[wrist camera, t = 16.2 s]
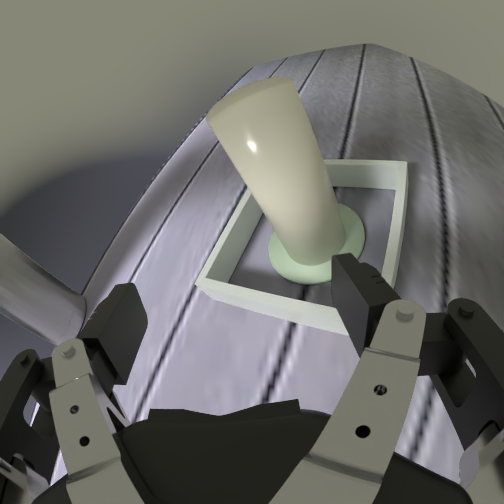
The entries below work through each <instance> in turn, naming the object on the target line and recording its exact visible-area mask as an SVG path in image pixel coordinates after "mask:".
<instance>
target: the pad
mask: <svg viewBox="0 0 504 504" xmlns="http://www.w3.org/2000/svg"><path fill="white" fill-rule="evenodd" d="M337 204H338V207H339V210H340V214H341V217H342V221H343V224H344V228H345V232H346V240H345V244H344V246H343V248H342V250H341V251H340V252H339V253H338V254H344V253H352V254H353V255H354V256H355V258H356V259H357V260H358V259H359V257H360V255H361V253H362V250H363V247H364V242H365V233H364V227H363V224H362V221H361V220H360V218H359V216H358V215H357V214H356V213H355V212H354V211H353V210H352V209H350V208H349V207H347V206H345V205H343V204H340V203H337ZM268 254H269V258H270V261H271V263H272V265H273V267H274V268H275V270H276V271H277V272H278V273H279V274H280V275H281V276H282V277H284V278H285V279H287V280H289V281H291V282H293V283H297V284H302V285H316V284H322V283H326V282H329V281H331V260H330V261H328V262H326V263H323V264H320V265H315V266H306V265H301V264H299V263H297V262H295V261H293V260H292V259H291V258H290V256H289V255H288V253H287V252H286V250H285V248H284V247H283V245H282V243H281V241H280V240H279V238H278V236H277V235H276V233H275V231H274V230H273V232H272V234H271V237H270V240H269V245H268Z"/></svg>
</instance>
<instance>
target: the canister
mask: <svg viewBox="0 0 504 504" xmlns="http://www.w3.org/2000/svg"><path fill="white" fill-rule="evenodd" d="M206 121H207V123H208V124H209V126H210V128H211V129H212V131H213V132H214V134H215V135H216V137H217V139H218V140H219V142H220V143H221V145H222V146H223V148H224V150H225V151H226V153H227V154H228V156H229V157H230V159H231V161H232V162H233V164H234V165H235V167H236V169H237V170H238V172H239V174H240V175H241V177H242V178H243V180H244V182H245V183H246V185H247V187H248V188H249V190H250V191H251V193H252V195H253V196H254V198H255V200H256V201H257V203H258V205H259V206H260V208H261V210H262V211H263V213H264V215H265V216H266V218H267V220H268V221H269V223H270V225H271V226H272V228H273V230H274V231H275V233H276V235H277V236H278V238H279V240H280V241H281V243H282V245H283V247H284V248H285V250H286V252H287V253H288V255H289V256H290V258H291V259H292V260H293V261H295V262H297V263H299V264H301V265H306V266H315V265H320V264H323V263H326V262H328V261H330V260H331V259H332V256H333V255H337V254H338V253H339V252H340V251H341V250H342V248H343V246H344V244H345V240H346V232H345V228H344V224H343V221H342V217H341V214H340V210H339V207H338V204H337V200H336V197H335V194H334V190H333V187H332V184H331V181H330V178H329V175H328V172H327V169H326V166H325V163H324V160H323V157H322V154H321V151H320V148H319V146H318V143H317V140H316V137H315V135H314V132H313V129H312V127H311V124H310V122H309V119H308V116H307V114H306V111H305V109H304V106H303V104H302V101H301V99H300V97H299V94H298V92H297V90H296V87H295V85H294V83H293V80H292V79H290V78H287V77H272V78H267V79H263V80H259V81H256V82H253V83H250V84H248V85H245V86H243V87H241V88H239V89H237V90H235V91H233V92H232V93H230V94H228V95H227V96H225V97H224V98H222V99H221V100H220V101H219V102H217V103H216V104H215V105H214V106H213V107H212V108H211V109H210V111H209V112H208V114H207V116H206Z"/></svg>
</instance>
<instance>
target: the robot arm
mask: <svg viewBox="0 0 504 504" xmlns="http://www.w3.org/2000/svg"><path fill="white" fill-rule="evenodd" d="M331 292H332V299H333V303H334V305H335V307H336V309H337V311H338V313H339V315H340V317H341V319H342V322H343V324H344V326H345V328H346V330H347V332H348V334H349V336H350V338H351V340H352V342H353V345H354V347H355V349H356V351H357V353H358V355H359V358H360V360H359V362H358V365H357V367H356V369H355V371H354V373H353V375H352V377H351V379H350V381H349V383H348V385H347V387H346V389H345V391H344V393H343V395H342V397H341V399H340V401H339V403H338V405H337V407H336V408H335V410H334V412H333V414H332V415H330V414H327V413H323V412H319V411H314V410H306V409H300V406H299V401H298V399H295V400H288V401H282V402H275V403H267V404H259V405H256V406H253V407H250V408H247V409H244V410H240V411H237V412H233V413H230V414H226V415H222V416H216V415H210V414H205V413H199V412H194V411H189V410H184V409H150V411H149V415H148V419H146V420H142V421H139V422H136V423H134V424H131V423H130V421H129V420H128V418H127V416H126V414H125V412H124V410H123V408H122V406H121V404H120V402H119V399H118V397H117V395H116V393H115V392H114V390H113V386H114V385H126V383H127V381H128V378H129V375H130V372H131V369H132V366H133V364H134V361H135V358H136V355H137V353H138V350H139V347H140V345H141V342H142V339H143V337H144V334H145V332H146V329H147V325H148V320H147V314H146V311H145V309H144V306H143V304H142V301H141V299H140V296H139V293H138V291H137V288H136V286H135V284H134V283H125V284H117V285H115V286H114V288H113V289H112V291H111V292H110V294H109V295H108V297H107V298H105V299H104V300H103V301H102V302H101V303H100V304H99V305H98V306H97V308H96V309H95V311H94V313H93V314H92V315H91V317H90V320H88V321H87V323H86V325H85V326H84V328H83V329H82V331H81V333H80V334H79V336H78V337H77V339H76V336H77V334H78V333H79V331H80V328H81V326H82V323H83V320H84V316H85V310H86V303H85V299H84V297H83V296H81V295H80V294H78V293H77V292H75V291H74V290H72V289H71V288H70V287H68V286H67V285H65V284H64V283H62V282H61V281H60V280H58V279H57V278H56V277H54V276H53V275H52V274H50V273H49V272H48V271H46V270H45V269H43V268H42V267H41V266H39V265H38V264H37V263H36V262H34V261H33V260H32V259H31V258H29V257H28V256H27V255H26V254H24V253H23V252H22V251H21V250H19V249H18V248H17V247H16V246H15V245H13V244H12V243H11V242H10V241H9V240H7V239H6V238H5V237H4V236H3V235H2V234H0V313H2V314H3V315H5V316H6V317H8V318H9V319H11V320H13V321H14V322H16V323H17V324H19V325H21V326H22V327H24V328H26V329H28V330H29V331H31V332H32V333H34V334H36V335H38V336H40V337H41V338H43V339H45V340H47V341H49V342H51V343H52V344H54V345H56V346H57V347H56V349H55V350H54V352H53V354H52V357H49V358H45V359H40V357H39V356H38V354H37V353H36V351H35V350H33V349H27V350H25V351H22V352H21V353H19V354H18V355H17V356H16V357H15V358H14V360H13V362H12V363H11V365H10V366H9V368H8V369H7V371H6V373H5V375H4V376H3V378H2V380H1V381H0V504H504V333H503V331H502V330H501V329H500V328H499V327H498V326H497V324H496V323H495V322H494V321H493V320H492V319H491V317H490V316H489V315H488V314H487V313H486V312H485V311H484V310H483V309H482V307H481V306H480V305H478V304H477V303H476V302H474V301H472V300H469V299H464V298H458V299H454V300H452V301H451V302H450V303H449V304H448V307H447V311H446V313H426V312H425V310H424V308H423V307H422V306H421V305H420V304H418V303H416V302H414V301H411V300H405V299H401V298H400V297H399V296H398V294H397V293H396V292H395V291H394V290H393V288H392V287H391V286H390V285H389V284H388V282H386V280H385V279H384V278H383V277H382V276H381V274H380V273H379V272H378V271H377V270H376V268H374V267H373V266H371V265H369V264H367V263H359V261H358V260H357V259H356V258H355V256H354V255H353V254H352V253H344V254H337V255H333V256H332V259H331ZM466 359H468V360H469V362H470V363H471V365H472V366H473V368H474V370H475V372H476V378H475V376H474V374H473V373H472V371H471V370H470V368H469V366H468V365H467V363H466V362H465V361H466ZM426 375H429V376H430V378H431V380H432V382H433V384H434V386H435V388H436V390H437V392H438V394H439V396H440V398H441V400H442V402H443V404H444V406H445V408H446V410H447V412H448V414H449V417H450V419H451V421H452V423H453V425H454V428H455V430H456V432H457V434H458V437H459V439H460V441H461V444H462V446H463V449H464V453H463V454H462V456H461V459H460V464H459V469H460V472H459V477H460V479H461V480H460V484H457V483H456V482H454V481H451V480H449V479H447V478H445V477H443V476H441V475H439V474H437V473H435V472H432V471H430V470H428V469H426V468H424V467H423V466H421V465H419V464H417V463H415V462H413V461H411V460H409V459H407V458H405V457H404V456H402V455H400V454H398V453H396V452H395V451H394V449H395V447H396V444H397V441H398V439H399V436H400V433H401V430H402V427H403V424H404V421H405V418H406V415H407V412H408V408H409V405H410V401H411V398H412V394H413V391H414V387H415V383H416V379H417V376H426ZM30 395H32V396H33V397H34V399H35V400H36V401H37V402H38V403H39V405H40V407H39V409H38V412H37V414H36V416H35V419H34V421H33V424H32V426H31V427H30V426H29V425H28V424H27V423H26V421H25V419H24V416H23V410H24V407H25V405H26V403H27V401H28V399H29V397H30ZM59 448H60V449H61V452H62V456H63V459H64V463H65V466H66V469H67V472H68V473H67V474H66V475H65V476H63V477H62V478H61V479H60V480H58V481H57V482H56V483H54V484H53V485H52V486H50V487H49V485H50V480H51V476H52V473H53V469H54V465H55V461H56V458H57V454H58V451H59Z"/></svg>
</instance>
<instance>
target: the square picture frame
mask: <svg viewBox="0 0 504 504" xmlns="http://www.w3.org/2000/svg"><path fill="white" fill-rule="evenodd" d="M323 160H324V163H325V166H326V169H327V172H328V175H329V178H330V181H331V184H332V186H337V187H360V188H377V189H391V190H396V194H395V202H394V209H393V216H392V222H391V228H390V234H389V240H388V245H387V250H386V255H385V260H384V265H383V270H382V274H381V276H382V277H383V278H384V279H385V280H386V282H388V284H389V285H390V286H391V287H392V288H393V290H394V286H395V281H396V276H397V271H398V265H399V260H400V254H401V248H402V241H403V234H404V226H405V218H406V209H407V198H408V186H409V185H408V168H407V161H388V160H354V159H323ZM262 214H263V211H262V210H261V208H260V206H259V205H258V203H257V201H256V200H255V198H254V196H253V195H252V193H251V191H250V190H249V188H248V189H247V191H246V192H245V194H244V196H243V198H242V199H241V201H240V203H239V205H238V206H237V208H236V210H235V212H234V213H233V215H232V217H231V219H230V220H229V222H228V224H227V226H226V227H225V229H224V231H223V233H222V235H221V236H220V238H219V240H218V242H217V244H216V245H215V247H214V249H213V251H212V253H211V255H210V256H209V258H208V260H207V262H206V264H205V266H204V267H203V269H202V271H201V273H200V275H199V277H198V278H197V280H196V282H195V285H196V286H198V287H199V288H200V289H201V290H202V291H204V292H205V293H206V294H207V295H208V296H209V297H211V298H212V299H214V300H217V301H221V302H224V303H227V304H231V305H234V306H237V307H241V308H244V309H248V310H251V311H255V312H258V313H262V314H265V315H269V316H272V317H276V318H280V319H283V320H287V321H291V322H295V323H299V324H303V325H306V326H310V327H314V328H318V329H322V330H327V331H331V332H335V333H339V334H343V335H348V336H349V334H348V332H347V330H346V328H345V326H344V324H343V322H342V319H341V317H340V315H339V313H338V311H337V309H336V308H333V307H328V306H324V305H319V304H314V303H310V302H305V301H301V300H296V299H292V298H287V297H283V296H278V295H274V294H270V293H265V292H261V291H257V290H253V289H249V288H244V287H240V286H236V285H232V284H228V281H229V279H230V277H231V275H232V273H233V271H234V269H235V267H236V265H237V263H238V261H239V259H240V257H241V255H242V253H243V251H244V249H245V247H246V245H247V243H248V241H249V239H250V237H251V235H252V234H253V232H254V230H255V228H256V226H257V224H258V222H259V220H260V218H261V216H262Z"/></svg>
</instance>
